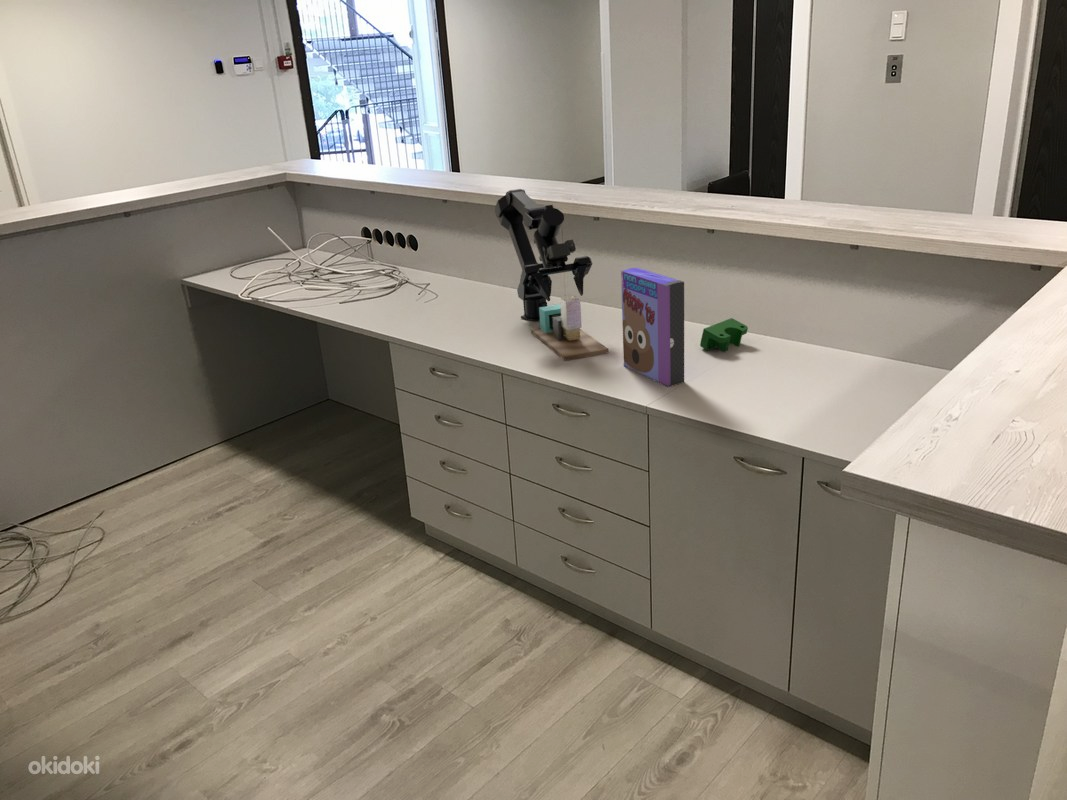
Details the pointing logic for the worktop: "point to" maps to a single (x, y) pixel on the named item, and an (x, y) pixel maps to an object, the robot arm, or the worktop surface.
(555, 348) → the base board
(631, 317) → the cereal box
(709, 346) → the clamp
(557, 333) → the sleeve
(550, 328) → the socket block
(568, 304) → the white-capped post
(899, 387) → the worktop surface
